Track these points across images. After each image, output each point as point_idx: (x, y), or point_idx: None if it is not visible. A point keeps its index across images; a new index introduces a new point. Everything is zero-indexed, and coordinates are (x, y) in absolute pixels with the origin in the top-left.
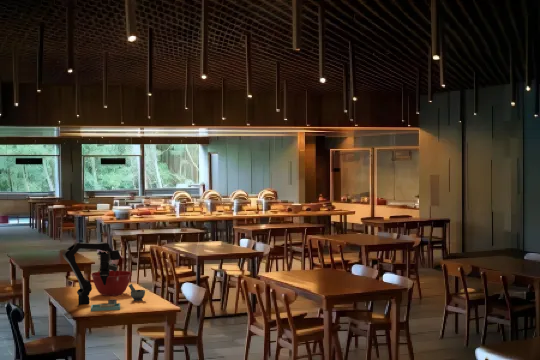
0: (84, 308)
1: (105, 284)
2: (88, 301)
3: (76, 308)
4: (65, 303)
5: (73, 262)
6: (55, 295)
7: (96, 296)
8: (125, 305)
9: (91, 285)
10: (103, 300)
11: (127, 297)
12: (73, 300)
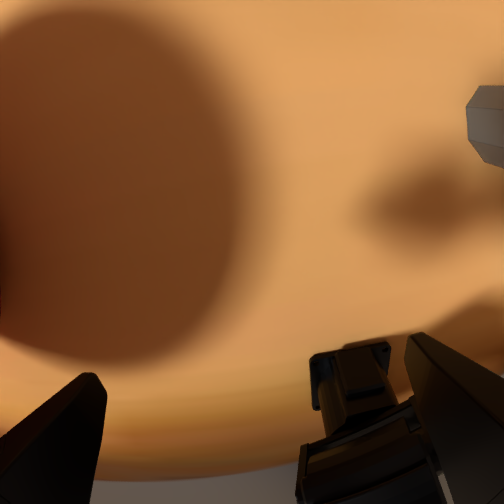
0: (489, 325)
1: (428, 339)
2: (375, 360)
3: None
4: (279, 457)
5: None
6: None
7: (21, 336)
8: (469, 11)
9: (429, 469)
10: (171, 258)
11: (30, 53)
12: (178, 441)
